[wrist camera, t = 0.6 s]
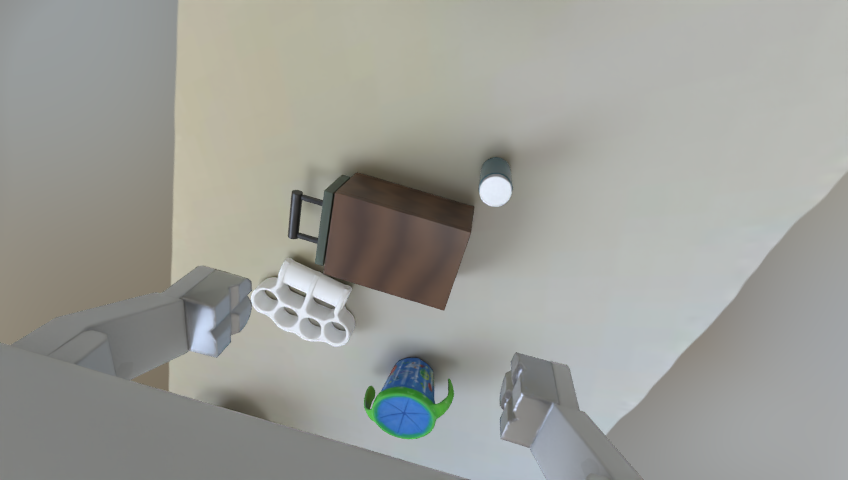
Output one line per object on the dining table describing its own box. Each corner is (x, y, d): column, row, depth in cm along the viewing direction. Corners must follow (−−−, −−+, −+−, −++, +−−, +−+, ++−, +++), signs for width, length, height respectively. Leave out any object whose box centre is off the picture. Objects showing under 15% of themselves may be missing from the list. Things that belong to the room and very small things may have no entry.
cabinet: (344, 245, 63) (323, 274, 55) (356, 171, 57) (335, 192, 49) (450, 277, 62) (444, 310, 54) (474, 206, 56) (471, 232, 49)
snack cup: (452, 347, 68) (445, 394, 59) (460, 392, 73) (455, 441, 64) (367, 349, 72) (349, 393, 63) (380, 391, 76) (364, 438, 67)
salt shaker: (486, 153, 52) (484, 171, 45) (514, 162, 52) (517, 181, 45) (476, 181, 54) (473, 202, 47) (504, 189, 54) (506, 211, 47)
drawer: (302, 232, 62) (281, 253, 56) (310, 164, 56) (287, 179, 50) (433, 272, 61) (426, 297, 55) (453, 207, 56) (448, 227, 50)
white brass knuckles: (372, 291, 66) (344, 348, 73) (272, 245, 65) (254, 307, 72) (366, 303, 63) (338, 362, 70) (262, 254, 62) (244, 319, 69)
